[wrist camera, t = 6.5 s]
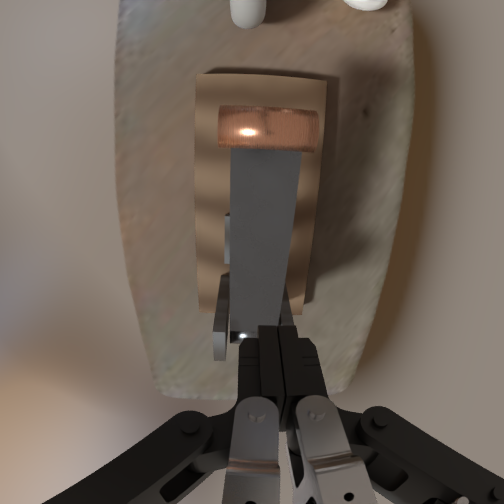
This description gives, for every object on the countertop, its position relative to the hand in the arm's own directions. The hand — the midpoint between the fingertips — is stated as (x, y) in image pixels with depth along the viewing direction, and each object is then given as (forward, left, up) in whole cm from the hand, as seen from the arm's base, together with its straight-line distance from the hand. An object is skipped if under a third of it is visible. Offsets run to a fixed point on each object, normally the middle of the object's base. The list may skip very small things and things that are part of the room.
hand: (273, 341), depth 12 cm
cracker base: (+1, -1, -26) cm, 26 cm away
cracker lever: (+1, -1, -18) cm, 18 cm away
